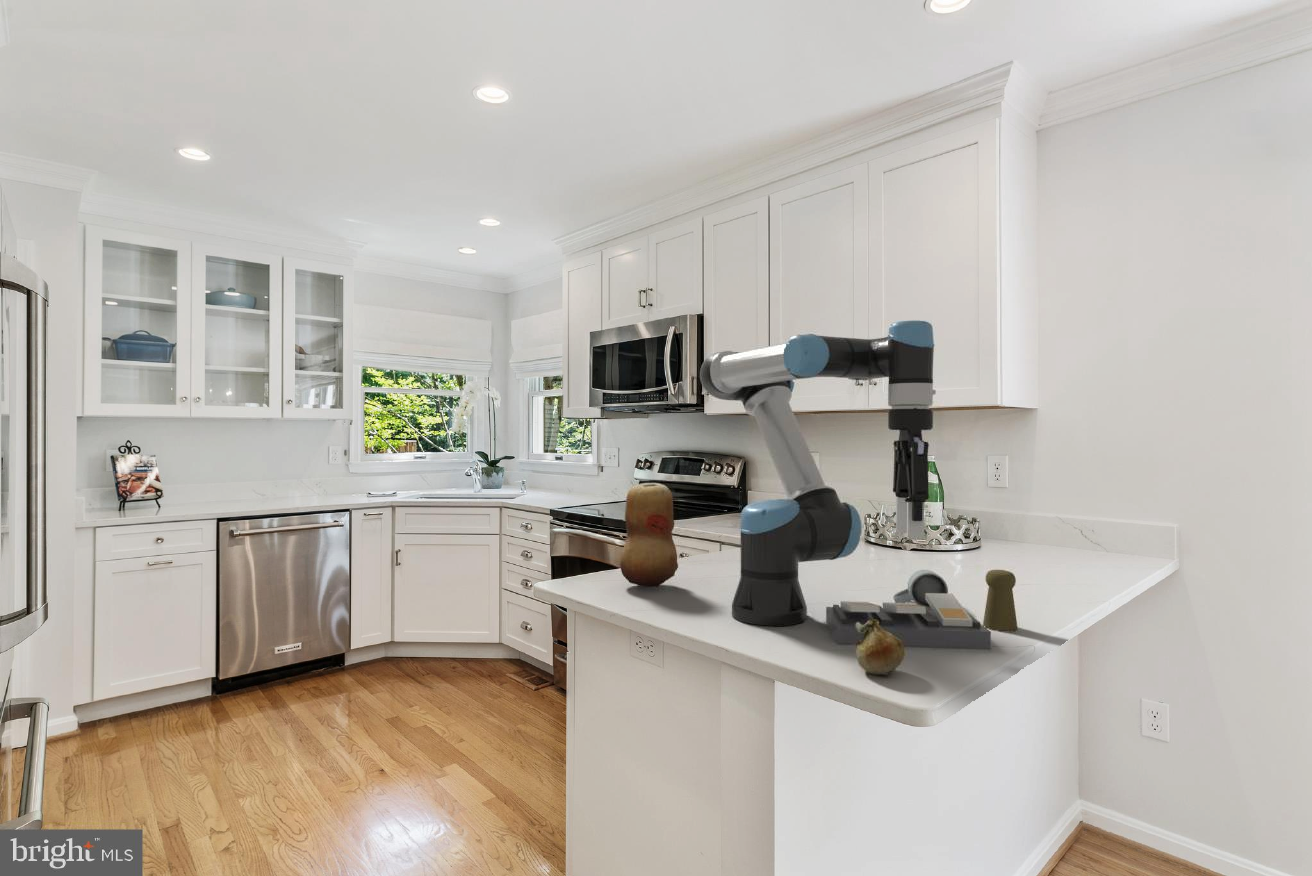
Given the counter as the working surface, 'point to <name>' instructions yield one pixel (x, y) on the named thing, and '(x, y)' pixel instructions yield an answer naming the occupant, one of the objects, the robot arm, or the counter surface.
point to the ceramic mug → (921, 588)
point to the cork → (1000, 601)
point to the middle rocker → (904, 608)
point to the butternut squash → (649, 536)
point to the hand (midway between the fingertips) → (909, 535)
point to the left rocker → (859, 606)
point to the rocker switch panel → (908, 628)
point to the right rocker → (948, 609)
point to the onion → (878, 649)
